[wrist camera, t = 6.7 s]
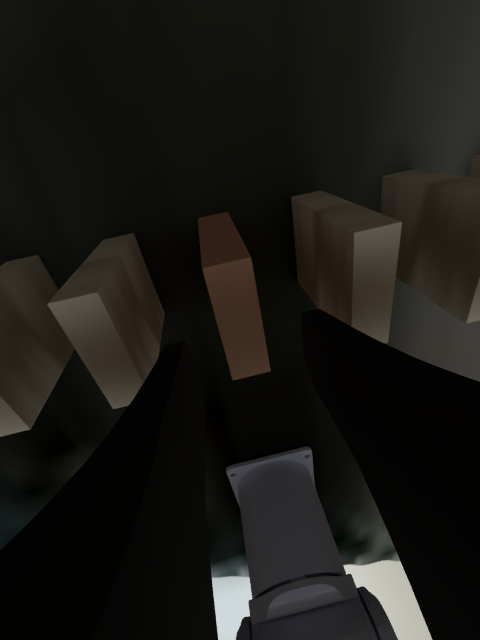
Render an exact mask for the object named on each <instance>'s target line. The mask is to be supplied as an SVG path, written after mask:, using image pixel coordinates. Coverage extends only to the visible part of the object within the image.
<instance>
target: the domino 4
mask: <svg viewBox="0 0 480 640" xmlns="http://www.w3.org/2000/svg"><path fill="white" fill-rule="evenodd" d="M380 213H381V214H383V215H386V216H388V217H391V218H394V219H396V220H399V221H401V222H402V227H401V235H400V244H399V252H398V261H397V269H396V277H397V278H398V279H400V280H401V281H403V282H404V283H406V284H407V285H409V286H410V287H412V288H413V289H415V290H416V291H418V292H419V293H421V294H422V295H424V296H425V297H427V298H428V299H430V300H431V301H433V302H434V303H436V304H437V305H439V306H440V307H442V308H443V309H445V310H446V311H448V312H449V313H451V314H452V315H454V316H455V317H457V318H459V319H460V320H462V321H463V322H465V323H470V322H475V321H479V320H480V178H473V177H465V176H458V175H450V174H442V173H435V172H427V171H419V170H407V171H403V172H399V173H394V174H390V175H385V176H383V178H382V192H381V205H380Z"/></svg>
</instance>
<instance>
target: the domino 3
mask: <svg viewBox="0 0 480 640" xmlns="http://www.w3.org/2000/svg"><path fill="white" fill-rule="evenodd" d="M291 203H292V215H293V227H294V239H295V251H296V263H297V275H298V283H299V284H300V285H301V287H302V288H303V289H304V291H305V292H306V293H307V295H308V296H309V297H310V299H311V300H312V301H313V303H314V304H315V305H316V306H317V308H318V309H321V310H323V311H325V312H327V313H328V314H330V315H332V316H334V317H335V318H337V319H339V320H341V321H343V322H344V323H346V324H348V325H350V326H352V327H353V328H355V329H357V330H359V331H361V332H363V333H364V334H366V335H368V336H370V337H372V338H374V339H376V340H378V341H380V342H382V343H388V337H389V329H390V320H391V312H392V303H393V295H394V286H395V278H396V269H397V261H398V252H399V244H400V235H401V227H402V222H401V221H399V220H396V219H394V218H391V217H388V216H386V215H383V214H381V213H378V212H375V211H373V210H370V209H368V208H365V207H363V206H360V205H357V204H355V203H352V202H350V201H347V200H344V199H342V198H339V197H337V196H334V195H331V194H329V193H326V192H324V191H321V190H320V191H315V192H311V193H306V194H302V195H298V196H293V197H291Z"/></svg>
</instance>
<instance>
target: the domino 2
mask: <svg viewBox="0 0 480 640" xmlns="http://www.w3.org/2000/svg"><path fill="white" fill-rule="evenodd" d="M47 305H48V307H49V308H50V310H51V311H52V313H53V314H54V316H55V318H56V319H57V321H58V322H59V324H60V325H61V327H62V329H63V330H64V332H65V333H66V335H67V337H68V338H69V340H70V341H71V343H72V344H73V346H74V348H75V349H76V351H77V352H78V354H79V356H80V357H81V359H82V360H83V362H84V363H85V365H86V367H87V368H88V370H89V371H90V373H91V375H92V376H93V378H94V379H95V381H96V382H97V384H98V386H99V387H100V389H101V390H102V392H103V394H104V395H105V397H106V398H107V400H108V401H109V403H110V405H111V406H112V408H113V409H116V408H120V407H124V406H128V405H130V403H131V402H132V400H133V399H134V397H135V395H136V394H137V392H138V391H139V389H140V387H141V386H142V384H143V383H144V381H145V380H146V378H147V376H148V375H149V373H150V371H151V370H152V368H153V366H154V364H155V363H156V361H157V359H158V356H159V349H160V342H161V335H162V328H163V322H164V315H165V313H164V311H163V308H162V305H161V303H160V300H159V298H158V295H157V292H156V290H155V287H154V285H153V282H152V279H151V277H150V274H149V272H148V269H147V266H146V264H145V261H144V259H143V256H142V253H141V251H140V248H139V246H138V243H137V240H136V238H135V235H134V233H131V234H126V235H122V236H118V237H113V238H109V239H105V240H103V241H102V242H101V243H100V244H99V245H98V246H97V247H96V249H95V250H94V251H93V252H92V253H91V254H90V255H89V257H88V258H87V259H86V260H85V261H84V262H83V263H82V265H81V266H80V267H79V268H78V269H77V270H76V271H75V273H74V274H73V275H72V276H71V277H70V278H69V279H68V281H67V282H66V283H65V284H64V285H63V286H62V287H61V288H60V290H59V291H58V292H57V293H56V294H55V295H54V296H53V298H52V299H51V300H50V301H49V302H48V303H47Z"/></svg>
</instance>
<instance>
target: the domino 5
mask: <svg viewBox="0 0 480 640" xmlns="http://www.w3.org/2000/svg"><path fill="white" fill-rule="evenodd" d="M468 177H473V178H480V154H478V155H473V157H472V162H471V167H470V171H469V176H468Z"/></svg>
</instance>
